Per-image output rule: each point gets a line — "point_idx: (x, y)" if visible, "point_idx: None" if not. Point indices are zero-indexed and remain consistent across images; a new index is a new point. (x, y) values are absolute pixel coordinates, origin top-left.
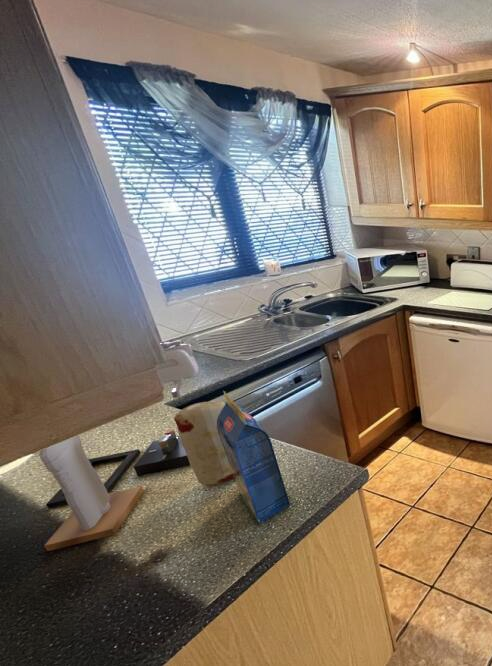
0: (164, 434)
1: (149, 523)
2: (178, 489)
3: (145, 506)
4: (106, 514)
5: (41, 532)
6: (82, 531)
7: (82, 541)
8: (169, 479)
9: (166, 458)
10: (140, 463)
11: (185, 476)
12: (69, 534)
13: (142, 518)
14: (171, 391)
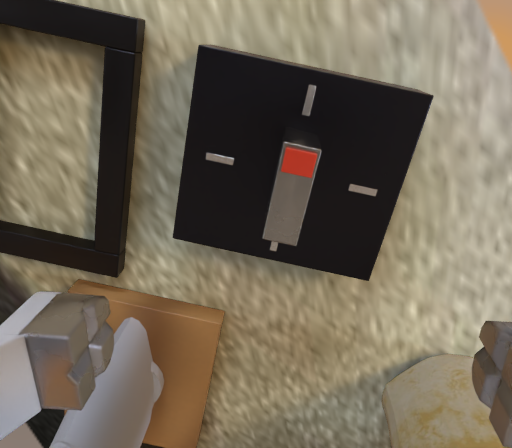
0: (280, 174)
1: (266, 444)
2: (319, 359)
3: (244, 380)
4: (163, 397)
5: None
6: None
7: None
8: (288, 294)
9: (284, 253)
10: (193, 230)
11: (335, 307)
12: None
13: (246, 420)
14: (509, 424)
